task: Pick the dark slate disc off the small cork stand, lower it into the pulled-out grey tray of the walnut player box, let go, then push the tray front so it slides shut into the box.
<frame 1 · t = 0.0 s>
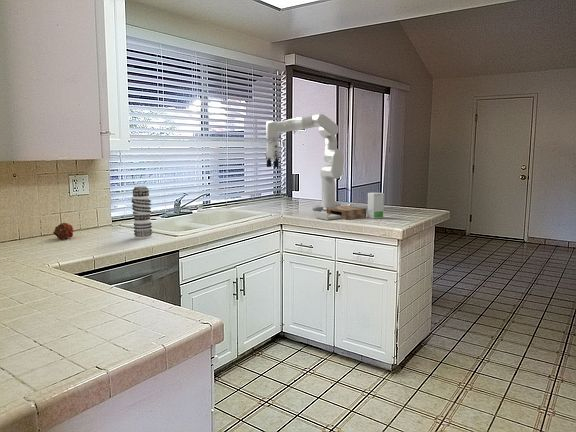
hand: (272, 167, 299), 31 cm above the counter, tool pointing down, fingers open, 9 cm apart
stand: (317, 215, 295), on the counter
decorative candle: (143, 237, 226), on the counter
housing: (346, 216, 289), on the counter
tray: (330, 214, 283), point 2 cm above the counter, slide at 10.0 cm
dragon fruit: (64, 238, 225), on the counter
skincare box: (375, 218, 283), on the counter
disc: (317, 210, 295), point 3 cm above the counter, touching stand
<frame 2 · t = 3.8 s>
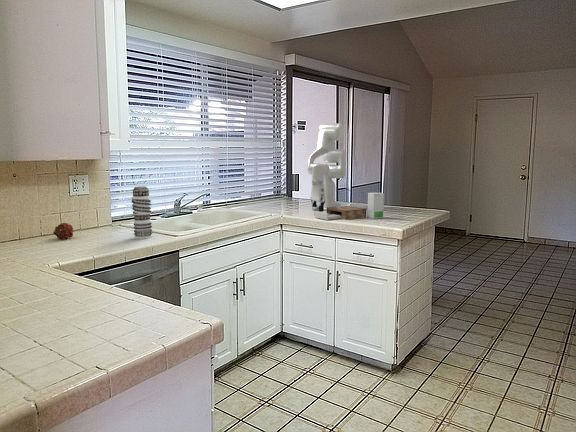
hand: (317, 210, 295), 3 cm above the counter, tool pointing down, fingers closed on disc, 7 cm apart
disc: (317, 210, 295), point 4 cm above the counter, touching gripper, stand
everything else where it was.
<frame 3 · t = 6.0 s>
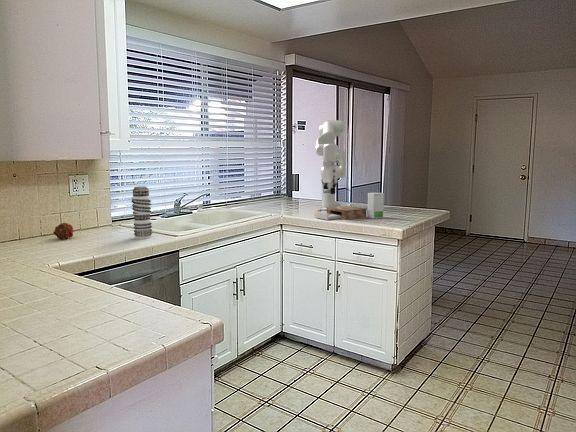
hand: (329, 193, 281), 16 cm above the counter, tool pointing down, fingers closed on disc, 7 cm apart
disc: (329, 192, 281), point 16 cm above the counter, touching gripper
everything else where it was.
when the fingers open (2 cm above the counter, at t = 8.5 s): disc drops 1 cm, resting on tray.
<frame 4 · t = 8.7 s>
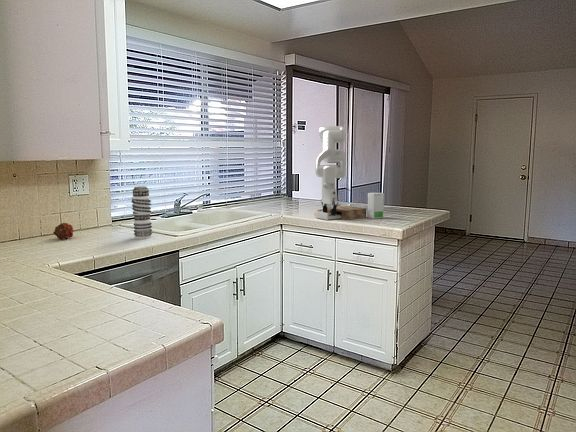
hand: (329, 213, 283), 3 cm above the counter, tool pointing down, fingers open, 8 cm apart
tray: (330, 214, 283), point 2 cm above the counter, slide at 10.0 cm, touching disc
disc: (329, 216, 283), point 1 cm above the counter, touching tray
everything else where it was.
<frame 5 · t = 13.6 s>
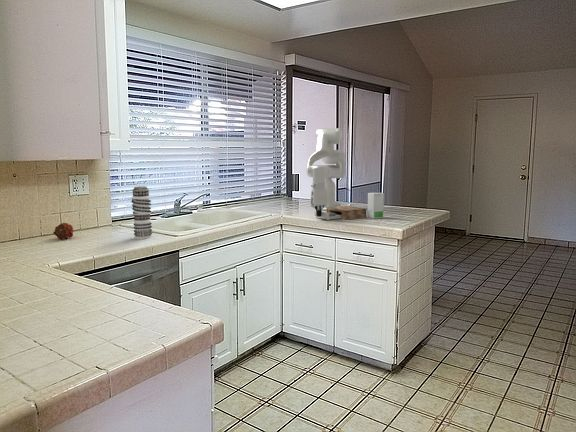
hand: (318, 216, 279), 2 cm above the counter, tool pointing down, fingers closed
tray: (331, 214, 283), point 2 cm above the counter, slide at 9.3 cm, touching disc, gripper
everything else where it was.
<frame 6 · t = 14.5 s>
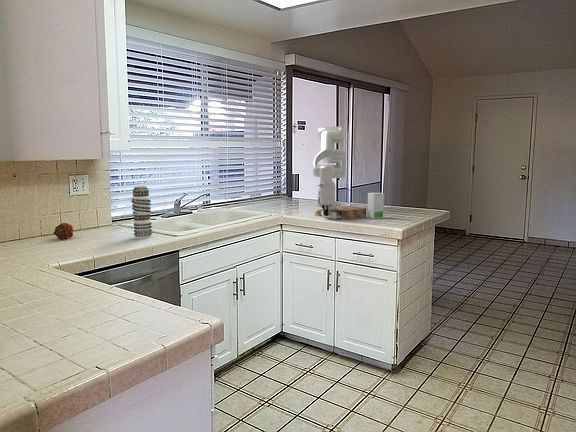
hand: (325, 215, 281), 2 cm above the counter, tool pointing down, fingers closed
tray: (338, 213, 286), point 2 cm above the counter, slide at 4.1 cm, touching disc, gripper
disc: (336, 215, 286), point 1 cm above the counter, touching tray
everything else where it was.
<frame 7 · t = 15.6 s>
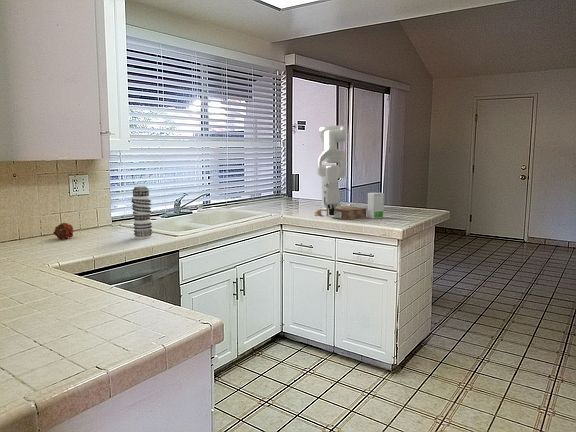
hand: (331, 215, 284), 2 cm above the counter, tool pointing down, fingers closed
tray: (343, 213, 288), point 2 cm above the counter, slide at -0.1 cm, touching disc, gripper
disc: (342, 214, 288), point 1 cm above the counter, touching tray
everything else where it was.
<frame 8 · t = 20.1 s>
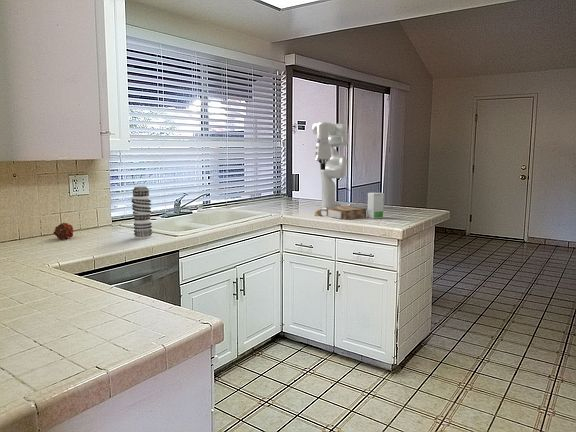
hand: (322, 169, 300), 29 cm above the counter, tool pointing down, fingers closed
tray: (343, 213, 288), point 2 cm above the counter, slide at 0.0 cm, touching disc
everything else where it was.
at the end: tray slide at 0.0 cm; disc inside the target area on the housing (3.0 cm from its centre), point 1.3 cm above the housing's base; disc tilted 0° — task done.
